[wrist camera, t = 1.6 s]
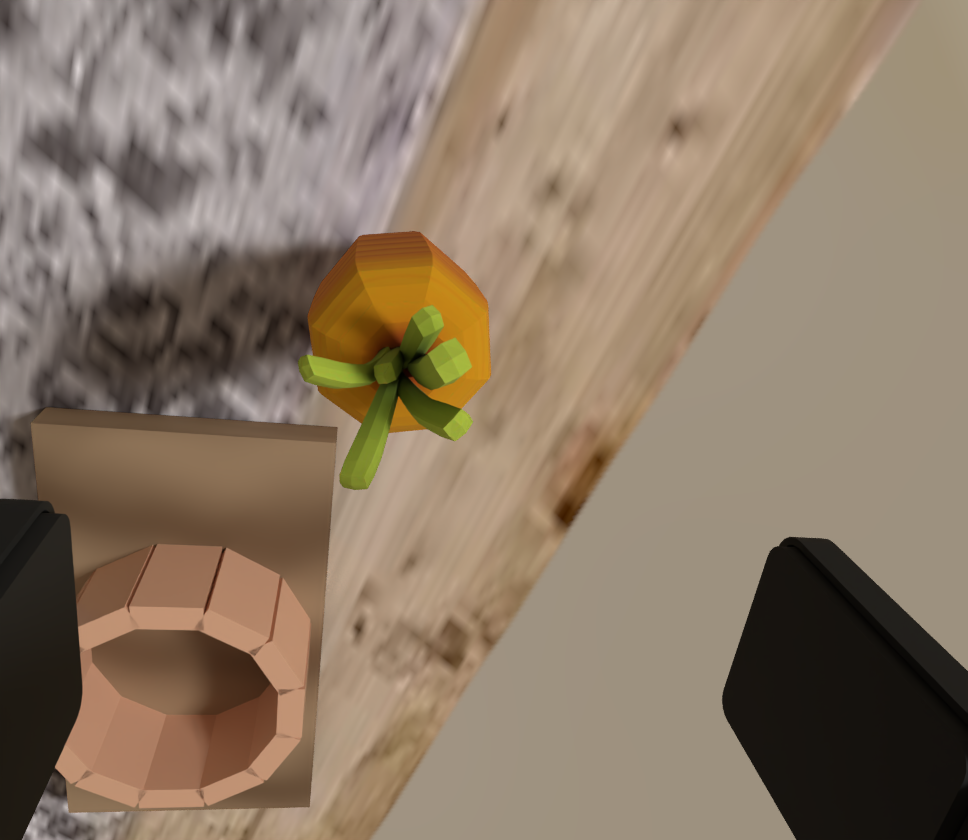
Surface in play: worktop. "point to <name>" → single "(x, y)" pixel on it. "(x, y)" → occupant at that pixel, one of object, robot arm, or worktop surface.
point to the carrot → (397, 344)
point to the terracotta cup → (187, 738)
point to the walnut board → (201, 522)
